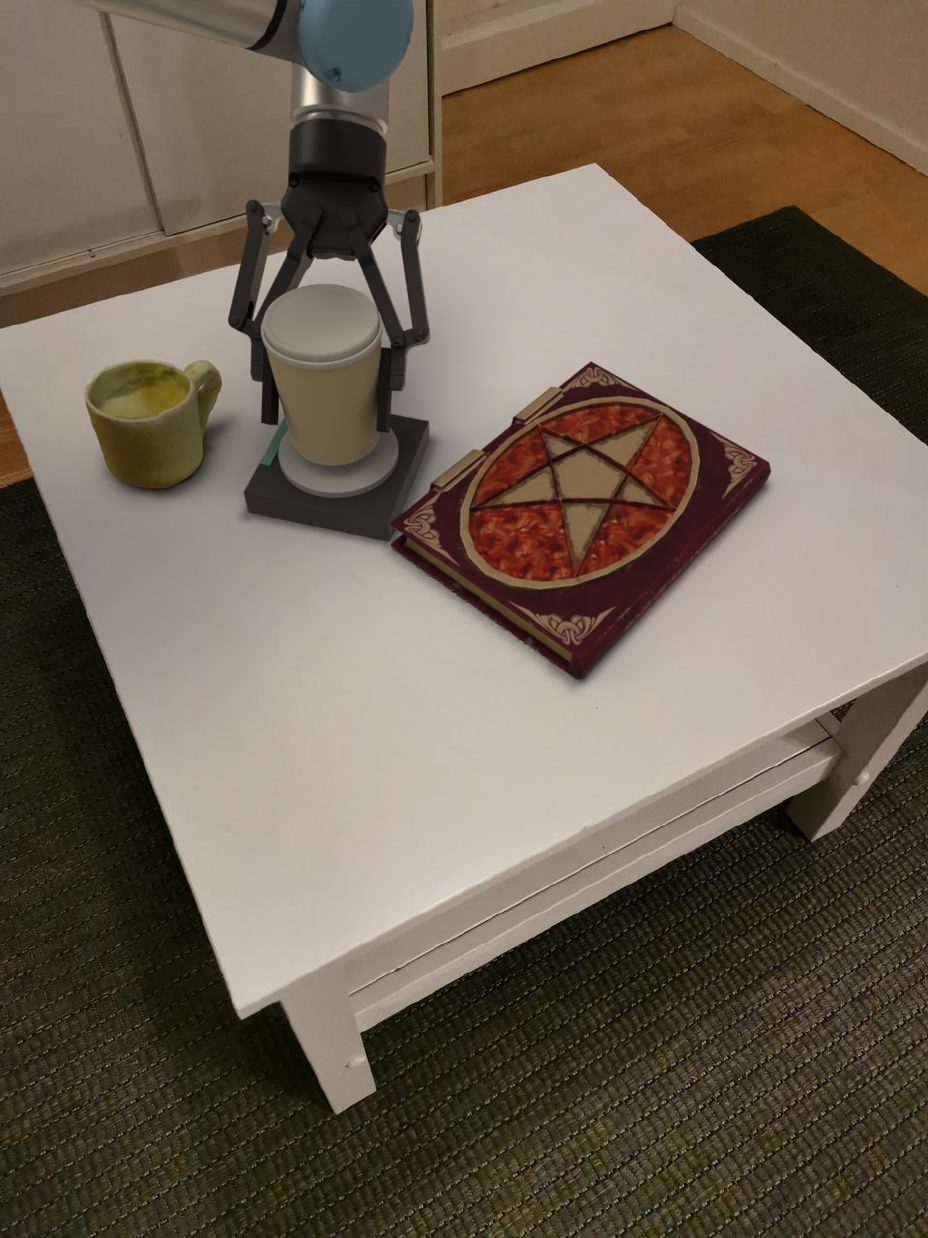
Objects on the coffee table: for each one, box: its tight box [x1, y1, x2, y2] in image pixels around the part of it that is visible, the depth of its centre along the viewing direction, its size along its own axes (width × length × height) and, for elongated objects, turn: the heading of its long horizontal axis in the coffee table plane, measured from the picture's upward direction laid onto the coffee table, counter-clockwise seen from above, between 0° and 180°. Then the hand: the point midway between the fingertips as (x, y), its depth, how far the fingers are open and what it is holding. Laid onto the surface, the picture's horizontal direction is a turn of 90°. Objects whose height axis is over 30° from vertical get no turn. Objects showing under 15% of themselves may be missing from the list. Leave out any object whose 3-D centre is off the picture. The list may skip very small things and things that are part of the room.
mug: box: [83, 358, 223, 490], centre depth 82 cm, size 12×10×10 cm
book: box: [390, 360, 772, 679], centre depth 80 cm, size 28×21×5 cm
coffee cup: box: [261, 283, 384, 466], centre depth 75 cm, size 9×9×12 cm
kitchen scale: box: [243, 413, 430, 542], centre depth 82 cm, size 13×13×3 cm
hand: (326, 427), depth 75 cm, fingers closed on coffee cup, 9 cm apart
